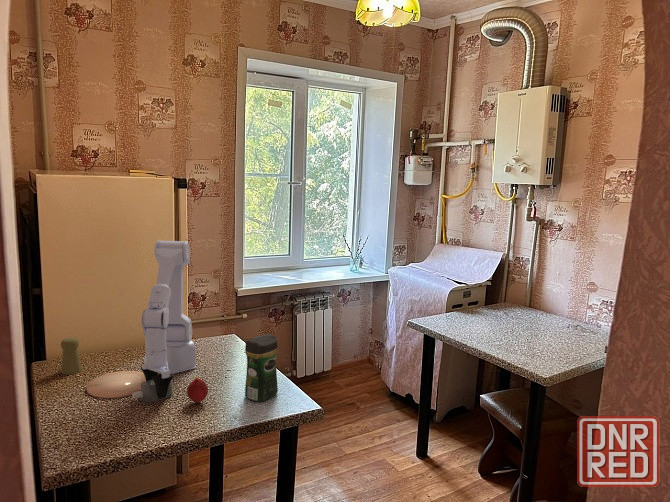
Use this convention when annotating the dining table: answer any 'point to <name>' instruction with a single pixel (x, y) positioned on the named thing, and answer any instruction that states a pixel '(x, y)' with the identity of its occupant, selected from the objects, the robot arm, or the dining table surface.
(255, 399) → the coffee jar
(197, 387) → the onion
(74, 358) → the cork
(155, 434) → the dining table surface
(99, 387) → the plate
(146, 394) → the connector
